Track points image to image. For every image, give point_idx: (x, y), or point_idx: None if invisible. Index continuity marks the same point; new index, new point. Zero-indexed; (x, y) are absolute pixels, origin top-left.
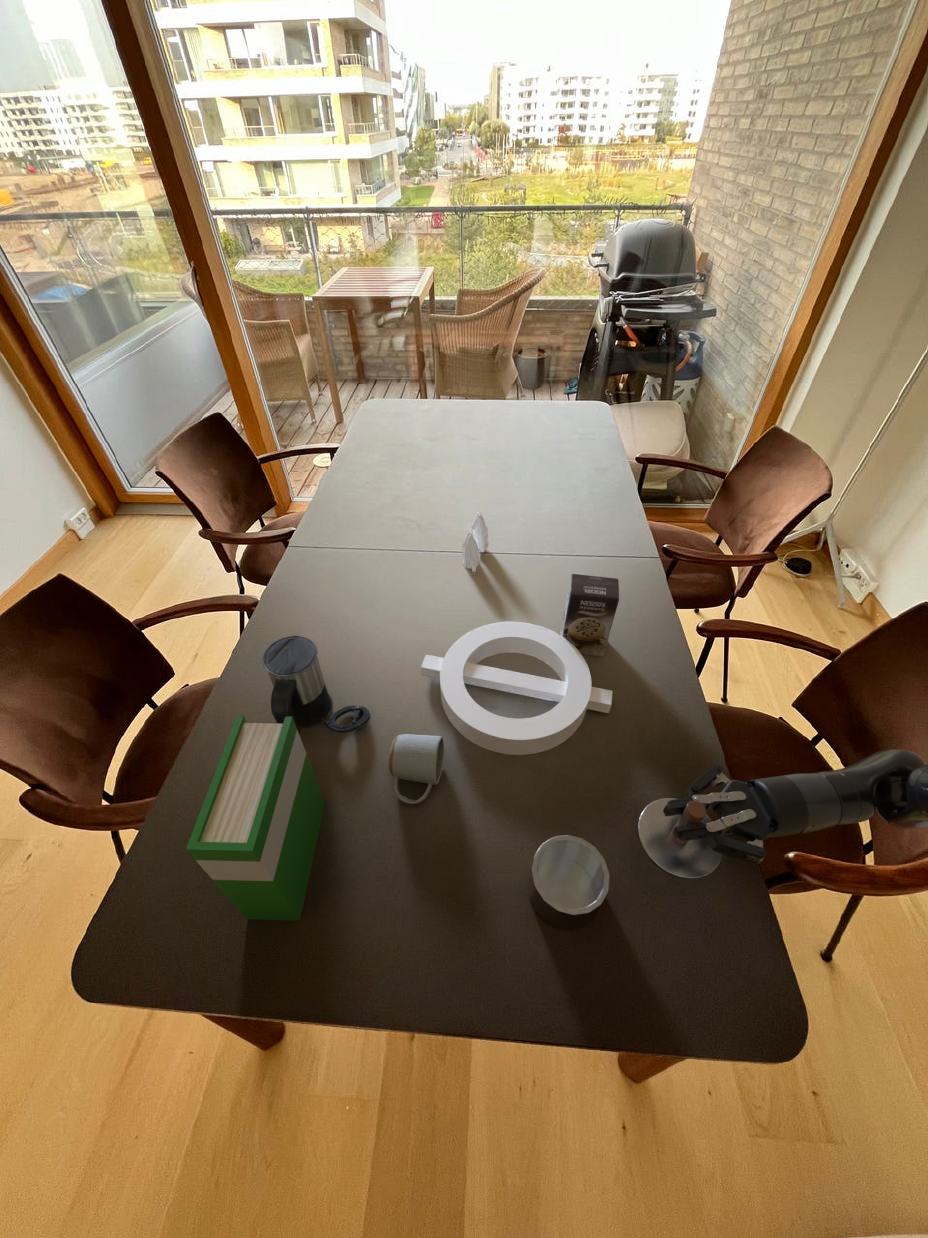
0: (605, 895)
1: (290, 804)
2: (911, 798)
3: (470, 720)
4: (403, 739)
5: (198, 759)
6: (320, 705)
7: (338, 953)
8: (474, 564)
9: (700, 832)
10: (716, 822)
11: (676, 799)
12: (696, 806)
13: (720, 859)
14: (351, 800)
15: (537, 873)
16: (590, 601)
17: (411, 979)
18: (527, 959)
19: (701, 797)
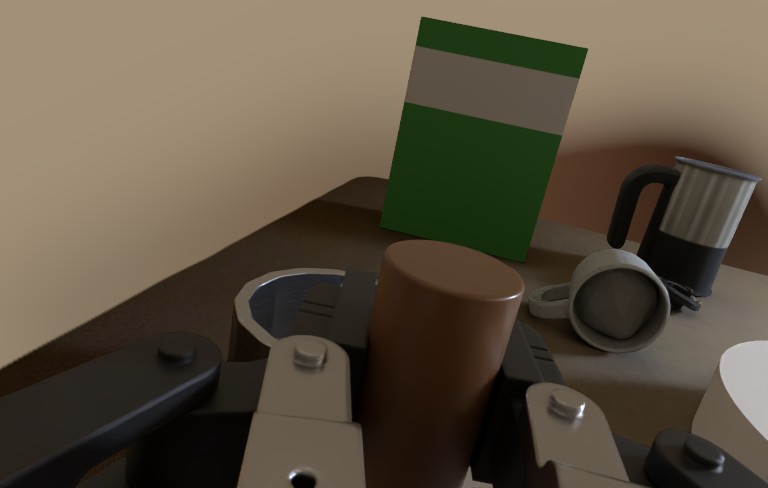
0: (254, 332)
1: (488, 110)
2: None
3: (743, 353)
4: (637, 256)
5: (564, 226)
6: (671, 258)
7: (334, 233)
8: None
9: (304, 333)
10: (335, 404)
11: (549, 353)
12: (477, 271)
13: None
14: (529, 276)
15: None
16: None
17: (275, 254)
18: (223, 334)
19: (588, 438)
